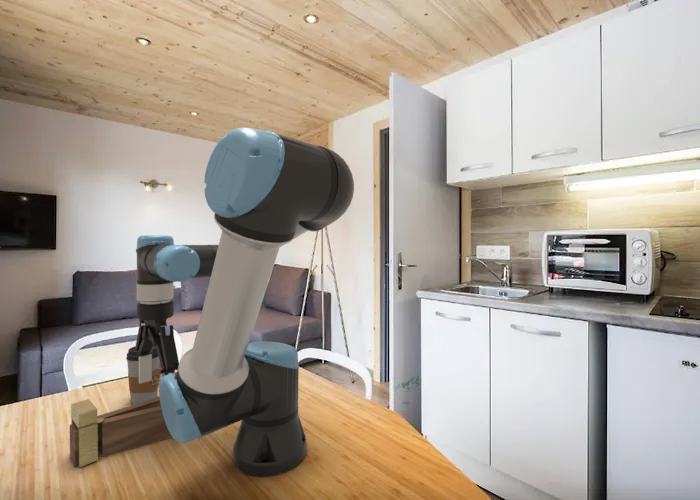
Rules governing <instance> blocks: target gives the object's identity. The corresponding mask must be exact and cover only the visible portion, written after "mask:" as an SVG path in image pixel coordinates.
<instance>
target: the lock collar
mask: <svg viewBox="0 0 700 500" xmlns="http://www.w3.org/2000/svg"><path fill="white" fill-rule="evenodd" d="M70 409H71V410H70V414H71V415H70V418H71V420H70V421H71V423H70V424H73V423H75V424H76V426H77V428H78V444H79V466H78V467H79V468H82V467H84V466H86V465H90V464H92V463H94V462H97V461H99V452H98V423H97V416H98V407H96V406H95V405H94V404H93V402H92V401H91V400H90V398H87V399H84V400H81V401H77V402H73V403H71V404H70Z"/></svg>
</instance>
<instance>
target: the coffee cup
mask: <svg viewBox="0 0 700 500" xmlns="http://www.w3.org/2000/svg"><path fill="white" fill-rule="evenodd" d="M127 351H128V352H127V353H126V359H125V360H126V362H127V372H128V374H127V375H128V376H127V378H128V388H129V390H128V391H129V399H130V403H131V404H132V405H134V404H137V403H140V402H144V401H147V400H150V399H153V398H156V397H159V370H160V369H159V365H160V360H159V356H158V353H157V349H156V346H152V351H153V353H150V354H151V355H152V381H148V382H144V383H141V384H140V383H139V357H140V356H138V354H137V353H138V351H137V352H136V351H135V346H132V347H130V348H128V350H127ZM150 354H148V355H150Z"/></svg>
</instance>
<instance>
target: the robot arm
mask: <svg viewBox="0 0 700 500" xmlns="http://www.w3.org/2000/svg"><path fill="white" fill-rule="evenodd" d="M204 184H205V187H204V197H205V202H206V203H207V206H208V207H209V208H210V210H211V211H212V213H214V215H213V219H214V222H215V223H216V224H217V226H218V227H219V228H220V230H221V235H220V239H219V242H218V244H175V243H174V237H173V236H171V235H155V234H154V235H152V234H151V235H149V234H145V235H144V234H143V235H139V236H138V237H137V241H136V249H135V253H136V301H137V302H138V303H137V304H136V317H137V319H138V321H139V326H138V330H137V331H138V332H137V336H136V342H135V346H134V347H135V351H136V352H137V351H138V353H137V354H138V356H140V357H139V383H140V384H141V383H144V382H148V381H152V355H151V354H150V353H153V351H152V346H156V349H157V353H158V356H159V360H160V363H161V367H162V370H161V371H160V372H159V373H160V383H159V385H158V397H160V404H161V409H162V413H163V417H164V420H165V423H166V425H167V428H168V430H169V432H170V434H171V436H172V437H171V438H172V439H174V440H175V441H176V442H177V443H181V444H185V443H188V442H191V441H193V440H196V439H200V440H201V439H202V438H203V437H205V436H208V435H209V434H212V433H215V432H217V431H220V430H222V429H223V428H226V427H228V426H232V425H233V424H236V423H238V422H240V425H239V428H238V431H237V435H236V438H235V442H234V444H233V448H232V462H233V465H234V467H235V468H236V469H237V470H238V471H239V472H241V473H243V474H244V475H246V476H247V475H248V476H252V477H257V478H258V477H259V478H260V477H262V478H264V477H272V476H273V477H274V476H277V475H281V474H284V473H287V472H288V471H291V470H293V469H294V468H296V467H297V466H298V465H299V464H300V463H301V462H302V461H303V460H304V458H305V457H306V455H307V436H306V433H305V430H304V428H303V424H302V421H301V419H300V415H299V373H300V372H299V370H300V365H299V354H298V351H297V350H296V348H295V347H294V346H292V345H291V344H286V343H282V342H276V341H253V342H250V341H251V338H252V335H253V331H254V329H255V326H256V323H257V320H258V319H257V318H258V316H259V314H260V310H261V307H262V305H263V304H262V303H263V301H264V297H265V294H266V293H267V292H266V291H267V288H268V285H269V282H270V279H271V276H272V272H273V269H274V266H275V263H276V260H277V257H278V254H279V251H280V248H281V247H283V246H285V245H287V244H289V243H291V242H292V241H293V240H295V239H297V238H298V237H300V236H301V235H303V234H305V233H306V232H311V233H312V232H319V231H320V230H321V231H322V230H323V229H324V228H326V227H328V226H329V225H331V224H333V223H334V222H336V221H338V220H339V219H340V218H341V217H342V216H343V215H344V214H345V213H346V212H347V211H348V209H349V207H350V206H351V203H352V201H353V199H354V193H355V182H354V177H353V173H352V171H351V169H350V166H349V165H348V164H347V162H346V161H345V159H344V158H343V157H342V156H341V155H340V154H338V153H337V152H336V151H334V150H332V149H330V148H328V147H324V146H322V145H316V144H311V143H309V142H306V141H302V140H298V139H296V138H293V137H289V136H286V135H282V134H278V133H276V132H273V131H270V130H267V129H266V130H262V129H258V128H257V129H256V128H252V127H246V126H244V127H238V128H234V129H232V130H230V131H228V133H226V134H225V135H224V136H222V138H220V140H219V141H218V142H217V143H216V145H215V146H214V148H213V150H212V152H211V154H210V156H209V159H208V161H207V164H206V169H205V173H204ZM203 278H204V279H205V278H210V279H209V283H208V286H207V291H206V293H205V298H204V301H203V307H202V310H201V314H200V319H199V322H198V327H197V328H196V329H197V330H196V334H195V338H194V343H193V344H192V348H190V349H189V350H187V351H186V352H185V353H184V354H183V355H182V356H181V358H180V359H179V356H178V350H177V347H176V346H177V345H176V340H175V336H174V335H175V333H174V325H173V324H170V325H167V320H168V319H170V318H172V317H173V316H174V313H175V310H174V309H175V308H174V307H175V304H174V303H175V302H174V301H173V299H174V290H175V289H176V286H175V284H174V283H175V282H177V283H178V282H179V283H181V282H183V283H184V282H187V281H189V280H191V279H203ZM148 354H150V355H148ZM170 365H171V366H170Z"/></svg>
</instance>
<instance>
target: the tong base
mask: <svg viewBox="0 0 700 500" xmlns="http://www.w3.org/2000/svg"><path fill="white" fill-rule="evenodd" d="M158 406H161V404H160V397H159V396H157V397H156V398H153V399H150V400H147V401H144V402H140V403H137V404H134V405H133V404H132V405H128V406H125V407H122V408H119V409H118V408H117V409H116V410H115V409H114V410H113V411H109V412H106V413H103V414H98V415H97V423H98V453H101V452H102V422H104V421H105V419H106V418H110V417H115V416H119V415H123V414H128V413H132V412H136V411H141V410H145V409H149V408H154V407H158ZM69 458H70V461H71V463H72V464H73V466H74V468H77V467H79V444H78V428H77V426H76V424H75V423H73V424H71V423H70V424H69Z"/></svg>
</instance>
